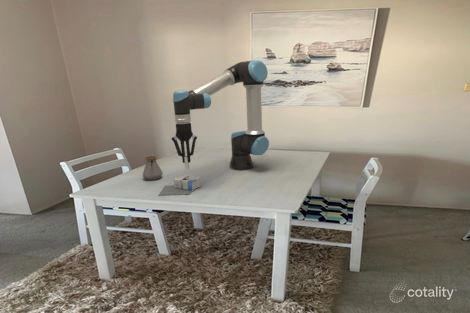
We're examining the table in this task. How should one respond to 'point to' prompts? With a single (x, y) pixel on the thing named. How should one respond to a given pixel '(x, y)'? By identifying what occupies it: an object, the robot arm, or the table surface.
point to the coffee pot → (152, 169)
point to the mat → (174, 191)
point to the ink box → (187, 182)
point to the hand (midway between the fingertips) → (187, 168)
